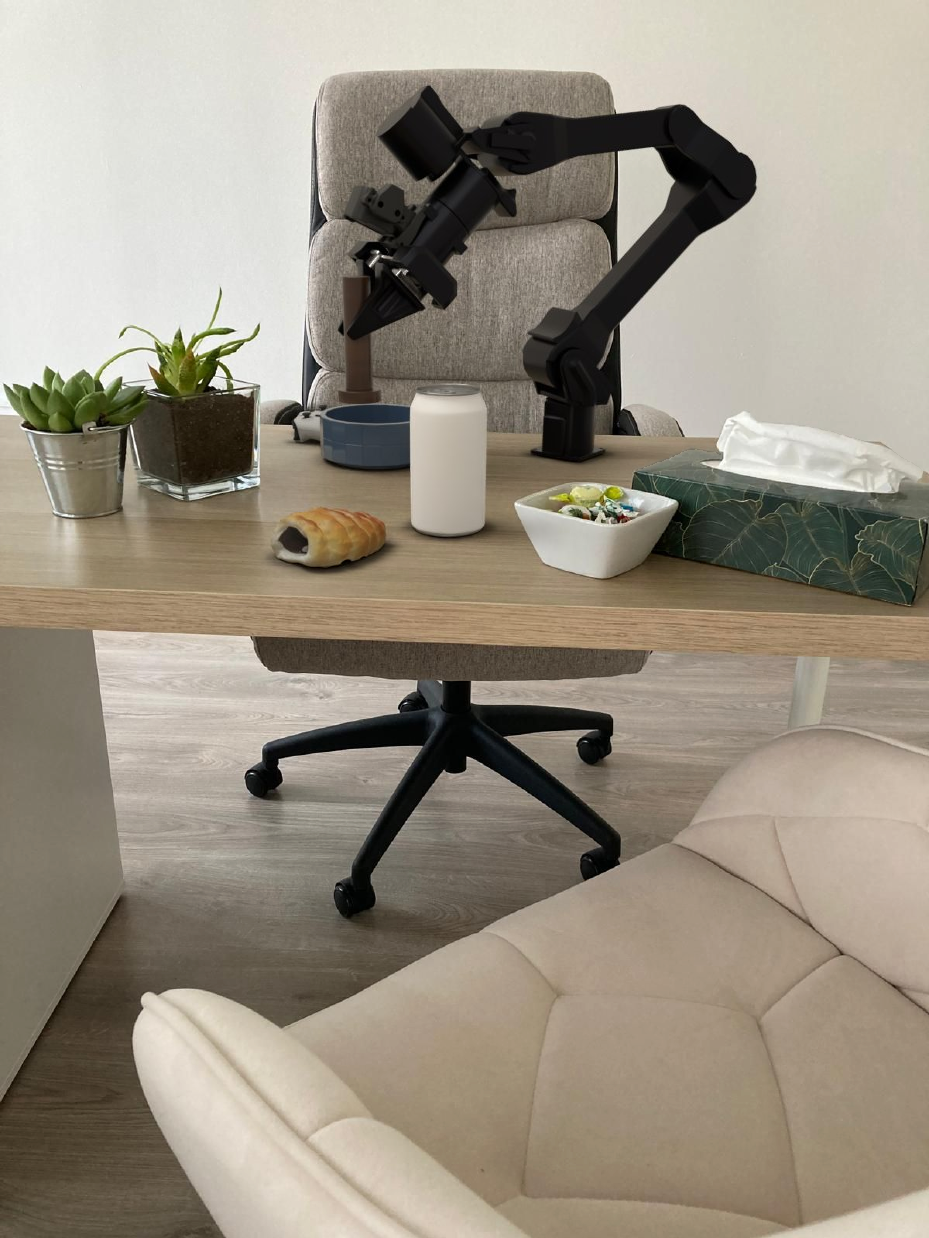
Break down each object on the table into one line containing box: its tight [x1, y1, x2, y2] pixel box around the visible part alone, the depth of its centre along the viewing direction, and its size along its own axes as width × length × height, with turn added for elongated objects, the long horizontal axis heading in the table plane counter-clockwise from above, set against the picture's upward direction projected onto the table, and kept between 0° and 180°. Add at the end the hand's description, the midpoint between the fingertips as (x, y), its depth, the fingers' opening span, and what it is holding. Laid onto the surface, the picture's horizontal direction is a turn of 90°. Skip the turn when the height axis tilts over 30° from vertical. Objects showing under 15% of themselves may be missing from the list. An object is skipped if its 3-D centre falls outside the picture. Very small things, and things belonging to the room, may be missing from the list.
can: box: [409, 382, 488, 538], centre depth 87 cm, size 6×6×12 cm
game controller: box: [291, 404, 328, 443], centre depth 123 cm, size 10×5×6 cm
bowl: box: [319, 403, 411, 470], centre depth 113 cm, size 12×12×5 cm
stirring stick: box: [337, 275, 382, 405], centre depth 104 cm, size 4×4×12 cm
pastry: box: [270, 506, 387, 568], centre depth 82 cm, size 9×7×4 cm
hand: (344, 335), depth 103 cm, fingers closed on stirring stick, 3 cm apart
